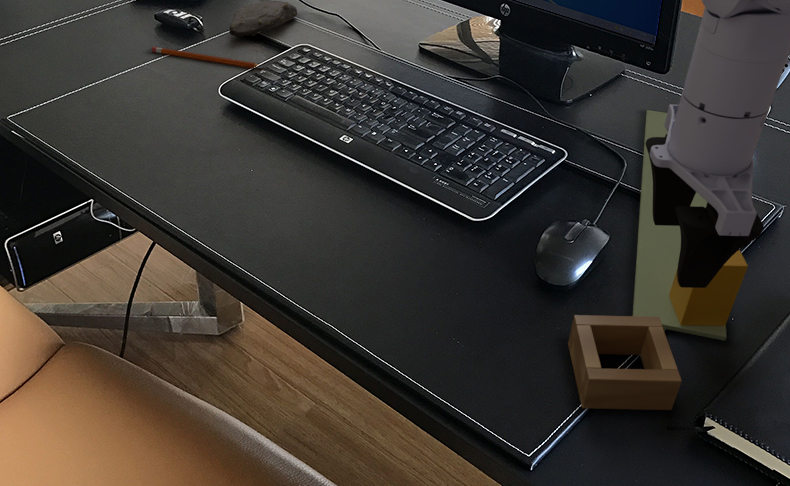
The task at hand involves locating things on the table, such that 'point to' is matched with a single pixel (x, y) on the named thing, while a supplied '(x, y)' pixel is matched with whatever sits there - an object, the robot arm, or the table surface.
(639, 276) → the mat
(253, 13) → the stone
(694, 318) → the block
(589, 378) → the stand
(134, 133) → the table surface
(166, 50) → the pencil
